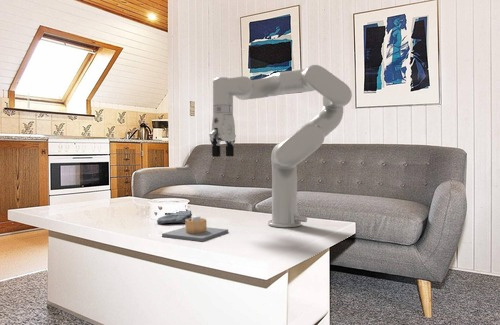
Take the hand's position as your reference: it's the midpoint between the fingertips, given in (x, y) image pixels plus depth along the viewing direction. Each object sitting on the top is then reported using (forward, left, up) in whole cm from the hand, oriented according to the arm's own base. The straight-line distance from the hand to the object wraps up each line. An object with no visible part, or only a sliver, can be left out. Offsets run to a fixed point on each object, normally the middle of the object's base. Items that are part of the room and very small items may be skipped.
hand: (223, 156), depth 152 cm
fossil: (+21, 0, -27) cm, 34 cm away
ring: (0, +18, -25) cm, 31 cm away
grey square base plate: (0, +18, -26) cm, 32 cm away
